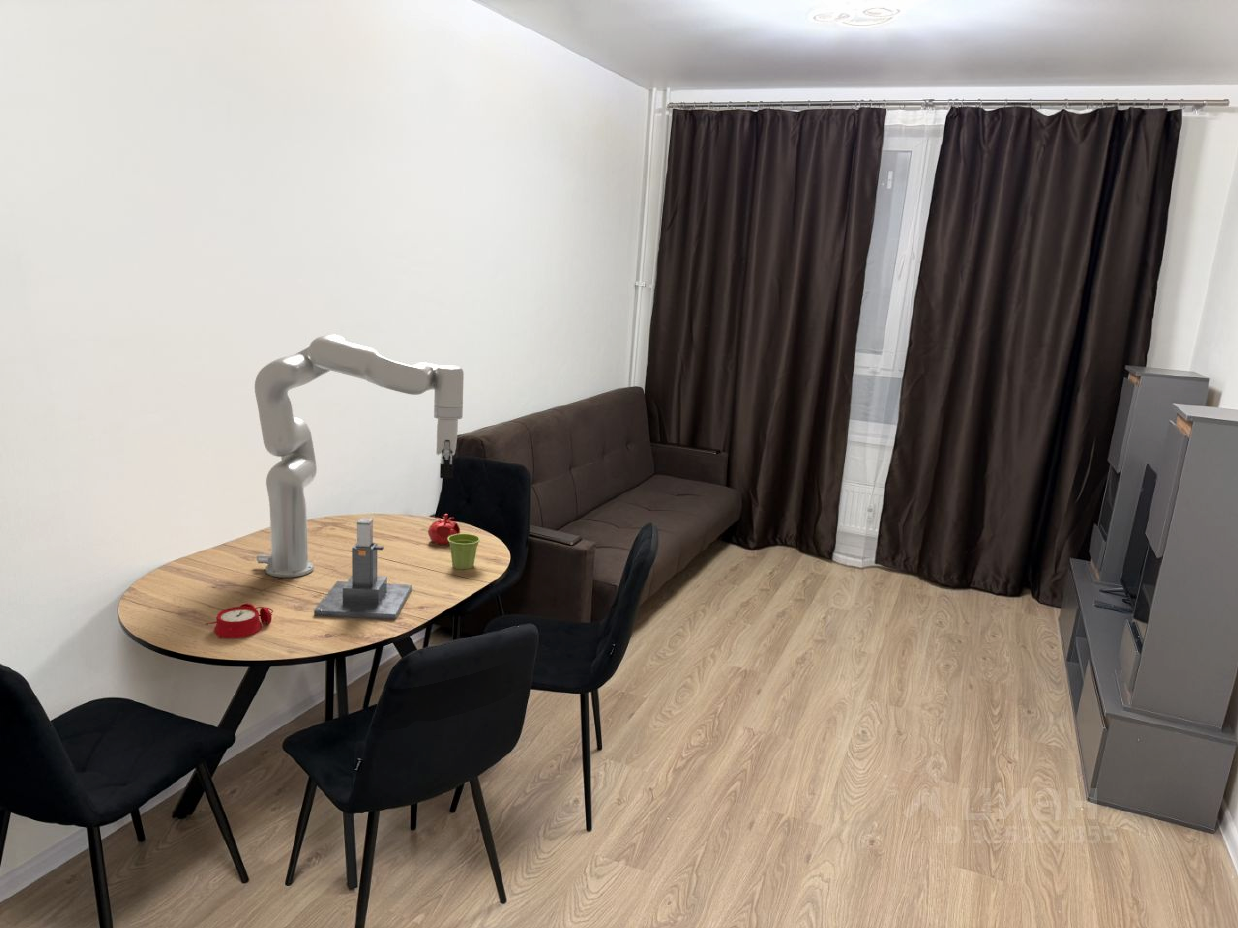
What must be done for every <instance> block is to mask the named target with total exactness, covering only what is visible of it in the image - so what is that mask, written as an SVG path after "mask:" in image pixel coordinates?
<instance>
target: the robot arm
mask: <svg viewBox="0 0 1238 928" xmlns="http://www.w3.org/2000/svg"><path fill="white" fill-rule="evenodd" d="M328 372H334V373H337V374H343V375H347V376H350V377H354V378H358V379H362V380H365V381H367V382H369V383H371V384H374V385H377V386H379V387H381V388H384V389H386V390H391V391H395V392H399V393H402V394H407V395H413V396H416V395H417V396H418V395H421V394H422V395H423V393H425V392H427V391H430V390H434V403H433V404H434V407H433V408H434V409H433V418H435V419H437V426H436V427H437V429H436V455H437V456H440V455H441V460H440V461H441V462H440V466H439V467H440V469H439V471H440V474H439V477H440V479H453V477H454V476H453V473H454V472H453V471H454V461H455V460H454V459H455V454H456V449H457V440H458V431H459V430H458V424H459V420H461V419H463V416H464V415H463V410H464V409H463V407H464V378H465V377H464V375H465V373H464V370H463V368H462V367H460V366H456V365H438V364H433V363H428V362H417V363H415V364H413V365H410V364H406V363H402V362H398V361H394V360H391V359H388V358H386V357H384V356H383V355H381V354H379V352H378V351H377V350H376V349H375V348H372V347H369V346H364V345H361V344H357V343H352V342H348V341H347V340H346V339H345V337H343V336H341V335H338V334H332V333H331V334H327V335H322V336H319V337H316V338H315V339H313V340H312V341H311V343H310V344H309V346H308V347H306V348H304V349H302V350H300V351H298V352H296V353H295V354H292V355H288V356H283V357H279V358H277V359H275V360H273V361H271V362H269V363H268V364H266V365H264V367H262V368H261V369H260V371H259V372H258V373H257V376H256V377H255V379H254V380H255V381H254V393H255V398H256V404H257V410H258V415H259V421H260V427H261V433H262V438H263V439H262V440H263V444H264V447H265V449H266V451H267V452H268V454H270V455H272V456H274V457H278V458H279V457H281V460H280V461H278V462H277V463H275V464H274V465H272V467H270V469H269V471H268V473H267V475H266V478H265V479H266V480H265V487H266V492H267V496H268V503H269V504H268V505H269V519H270V521H269V522H270V523H269V525H270V550H271V551H270V553H269V554H264V553H263V554H262V553H258V554H257V556H256V561H257V562H258V563H257V564H266V567H265V573H266V575H269V576H270V577H275V578H282V579H283V578H284V579H285V578H286V579H287V578H288V579H290V578H298V577H303V576H306V575H308V574H310V573H312V572H313V571H314V563H313V562H311V561H309V560H308V557H309V556H308V516H307V514H308V513H307V511H308V510H307V501H306V497H305V492H304V489H305V488H306V487H307V486H309V485H310V484H312V482H313V481H314V479H315V478H316V476H317V471H318V470H317V461H316V455H315V454H316V453H315V449H314V443H313V437H312V436H313V435H312V433H311V430H310V427H309V426H308V424H307V423H306V422H305V421H304V420H303V419H301V418H300V417H297V416H294V410H293V405H292V401H291V399H290V396H289V394H288V393H289V391H290V390H292V389H295V388H297V387H301V386H304V385H306V384H309V383H310V382H312V381H314V380H316V379H318V378H319V377H322V376H323V375H325V374H326V373H328Z"/></svg>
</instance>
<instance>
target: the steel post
mask: <svg viewBox="0 0 1238 928" xmlns="http://www.w3.org/2000/svg"><path fill="white" fill-rule="evenodd" d="M373 522H374V518H362V517H361V518H359V519H358V520H357V521H356V543H357V548H372V546H373V543H374V531H373V530H374V525H373V524H374V523H373Z"/></svg>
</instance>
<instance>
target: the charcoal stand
mask: <svg viewBox="0 0 1238 928" xmlns="http://www.w3.org/2000/svg"><path fill="white" fill-rule="evenodd" d="M384 547H385V546H383V545H378V542H373V546H372V548H357V542H355V544H354V545H353V546H352V548H351V552H352V553H351V554H352V556H351V558H352V561H351V562H352V572H351V573H352V575H351V576H350V578H348V580H347V581H346V580H345V581H343V580H337V581H336V582H335V583H334V584H333V585H332V587H331V588H330V589H329V591H328V592H327V593H326V595H324V597H323V599H322V600H320V602H319V604H318V605H317V606H316V607H315V609H313V617H327V618H328V617H332V618H334V617H335V618H350V619H351V618H352V619H355V618H356V619H370V620H371V619H373V620H374V619H375V620H393V619H397V617H399V614H400V612H401V610H402V609H403V606H404V605H405V603H406V601H407V600H408V598H409V596H410V594H411V592H412V590H413V585H412V584H409V583H388V582H387V581H388V579H387V578H388V577H387V576H378V551H383V550H385V549H384Z"/></svg>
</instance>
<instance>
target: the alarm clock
mask: <svg viewBox="0 0 1238 928" xmlns="http://www.w3.org/2000/svg"><path fill="white" fill-rule="evenodd" d="M258 609H260V610H258ZM273 612H274V609H271V608H269V607H264V606H258V607H255V605H253V604H251V603H247V602H245V603H242V604H241V605H240V606H235V607H233V606H232V607H229V608H226V609H223V610H220V612H218V613H217V614H216V618H215V619H216V621H213V622H208V623H207V622H206V623H205V625H206V626H207V625H211V624H216V625H215V627H214V629H213V632H214V634H215V635H216V636H218V639H222V638H224V639H225V638H226V639H239V638H245V637H250V636H252V635H255V634H257V633H259V632H260V631H261V630H262V629H263V623H266V626H269V625H270V624H271V622H272V616H273V614H272V613H273Z"/></svg>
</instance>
